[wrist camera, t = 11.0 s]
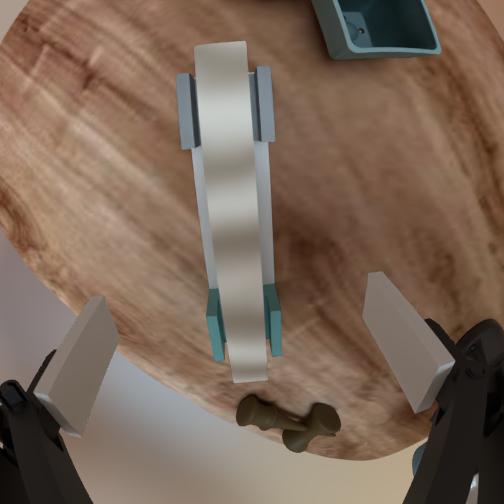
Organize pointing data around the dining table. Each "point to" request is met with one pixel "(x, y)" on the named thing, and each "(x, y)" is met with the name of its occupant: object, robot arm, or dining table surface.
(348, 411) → the dining table surface
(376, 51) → the flower pot
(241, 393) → the dining table surface
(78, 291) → the dining table surface
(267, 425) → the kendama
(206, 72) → the grey white bar
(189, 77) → the long grey teal holder
